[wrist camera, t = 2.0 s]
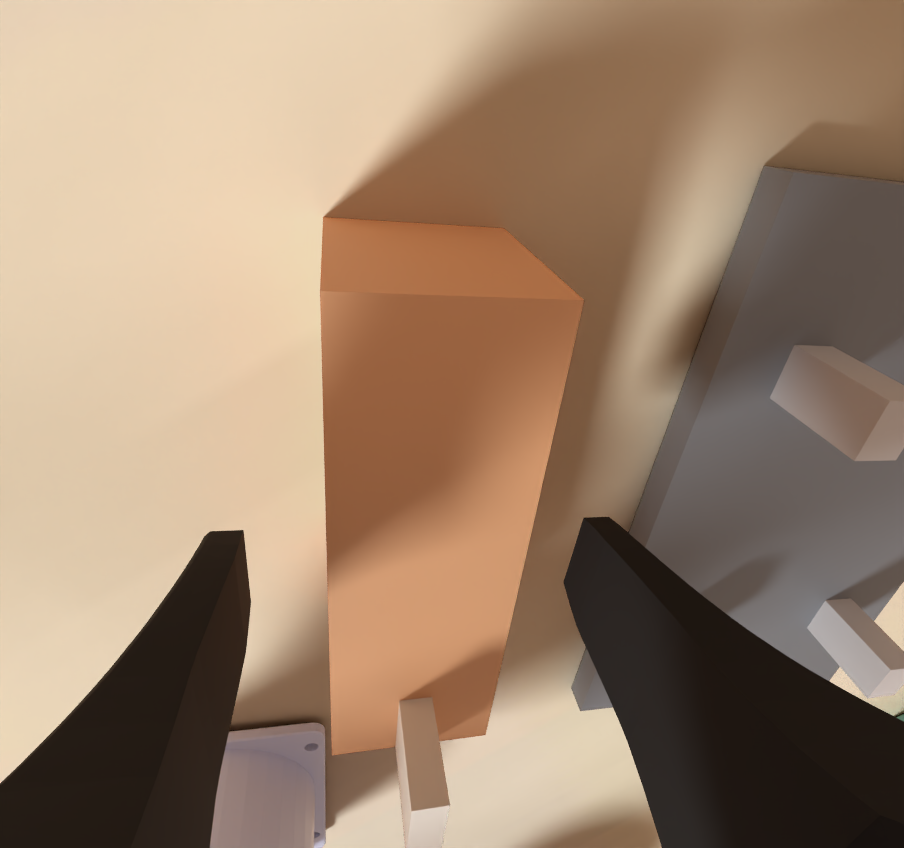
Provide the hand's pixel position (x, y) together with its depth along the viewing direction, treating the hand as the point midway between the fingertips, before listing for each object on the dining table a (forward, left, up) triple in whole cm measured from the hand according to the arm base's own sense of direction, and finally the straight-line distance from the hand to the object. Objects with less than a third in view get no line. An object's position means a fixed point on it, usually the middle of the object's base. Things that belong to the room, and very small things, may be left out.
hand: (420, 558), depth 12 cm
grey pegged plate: (-2, -14, -4) cm, 15 cm away
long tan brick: (0, 0, -4) cm, 4 cm away
